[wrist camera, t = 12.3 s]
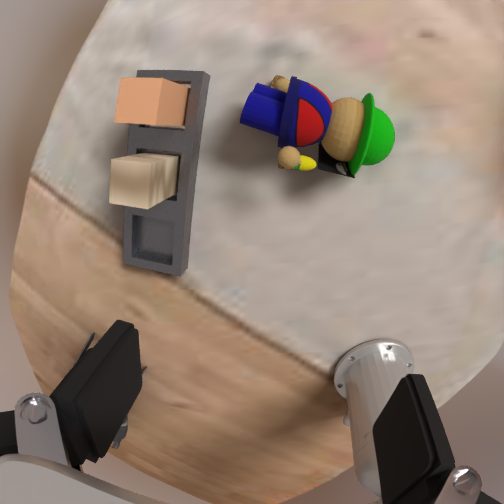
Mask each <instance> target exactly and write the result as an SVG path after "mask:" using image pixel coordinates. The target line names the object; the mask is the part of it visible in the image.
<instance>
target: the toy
mask: <svg viewBox="0 0 504 504" xmlns="http://www.w3.org/2000/svg"><path fill="white" fill-rule="evenodd" d="M240 123H241V124H244V125H247V126H250V127H253V128H256V129H259V130H262V131H265V132H268V133H271V134H273V135H276V136H279V139H278V147H279V148H282V149H281V150H280V151H279V153H278V161H279V164H278V166H279V168H285V169H289V168H290V169H293V168H294V169H297V170H303V171H307V170H312V169H314V168H315V167H316V162H315V160H313V159H312V158H310V157H307V156H304V155H300V153H299V151H298V150H297V149H296V148H294V147H304V146H308V145H312V144H315V143H317V142H319V141H321V143H322V144H319V156H318V169H320V170H324V171H328V172H332V173H336V174H340V175H344V176H348V177H352V178H355V177H354V175H355V174H356V173H357V171H358V170H359V168H360V167H361V165H374V164H377V163H379V162H381V161H382V160H384V159H385V158H386V157H387V156H388V155H389V153H390V152H391V150H392V148H393V144H394V141H395V131H394V127H393V124H392V122H391V120H390V118H389V117H388V116H387V114H385V113H384V112H383V111H382V110H380V109H378V108H376V107H375V105H374V98H373V95H372V94H371V93H368V94H366V95H365V97H364V98H363V100H362V102H361V101H359V100H357V99H354V98H342V99H338V100H336V101H335V102H333V103H331V102H330V100H329V99H328V98H327V96H326V95H325V94H324V93H323V92H322V91H321V90H319V89H318V88H317V87H315V86H313V85H311V84H309V83H307V82H305V81H302V80H299V79H297V77H293V76H292V77H291V79H290V81H289V80H287V79H285V78H284V77H282V76H278V75H277V76H275V77H274V79H273V80H272V83H271V85H270V87H268V86H265V85H262V84H259V83H257V84H256V85H255V88H254V90H253V92H251V93H250V94H249V96H248V98H247V100H246V103H245V105H244V108H243V111H242V114H241V118H240ZM283 146H285V147H284V148H283Z"/></svg>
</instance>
